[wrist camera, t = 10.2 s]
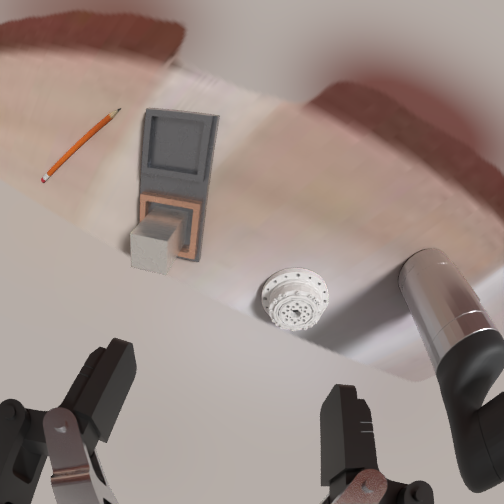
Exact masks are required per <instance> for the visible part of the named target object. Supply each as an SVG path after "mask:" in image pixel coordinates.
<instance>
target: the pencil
mask: <svg viewBox="0 0 504 504" xmlns="http://www.w3.org/2000/svg"><path fill="white" fill-rule="evenodd" d="M120 109H121V108H120ZM120 109H118V110H116V111H114V112H112V113H110V114H108V115H107V116H106V117H105V118H104V119H102V120H101V121H100V122H99V123H98V124H97V125H96V126H94V127H93V128H92V129H91V130H90V131H89V132H88V133H87V134H85V135H84V136H83V137H82V138H81V139H80V140H79V141H78V142H77V143H76V144H75V145H74V146H73V147H72V148H71V149H70V150H69V151H68V152H67V153H66V154H65V155H64V156H63V157H62V158H61V159H60V160H59V161H58V162H57V163H56V164H55V165H54V166H53V167H52V168H51V169H50V170H49V171H48V172H47V173H46V174H45V175H44V176H43V178H42V179H41V181H42V182H43V183H44V182H45V181H46V180H47V179H48V178H49V177H50V176H51V175H52V174H53V173H54V172H55V171H56V170H57V169H58V168H59V167H60V166H61V165H62V164H63V163H64V162H65V161H66V160H67V159H68V158H69V157H70V156H71V155H72V154H73V153H74V152H75V151H76V150H77V149H78V148H80V147H81V146H82V145H83V144H84V143H85V142H86V141H87V140H88V139H89V138H91V137H92V136H93V135H94V134H95V133H96V132H97V131H99V130H100V129H101V128H102V127H103V126H104V125H106V124H107V123H108V122H109V121H110V120H112V119H113V118H114V116H115V115H116V114H117V113H118V111H119V110H120Z"/></svg>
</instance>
